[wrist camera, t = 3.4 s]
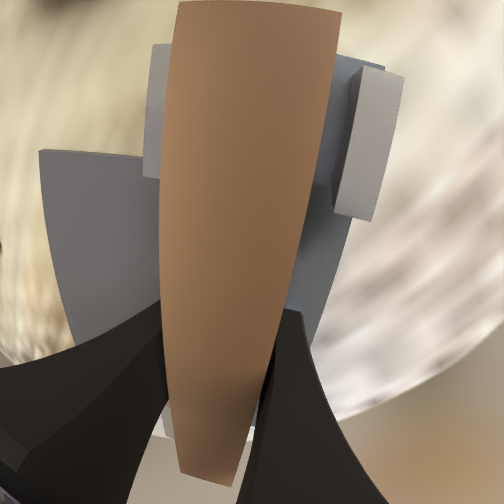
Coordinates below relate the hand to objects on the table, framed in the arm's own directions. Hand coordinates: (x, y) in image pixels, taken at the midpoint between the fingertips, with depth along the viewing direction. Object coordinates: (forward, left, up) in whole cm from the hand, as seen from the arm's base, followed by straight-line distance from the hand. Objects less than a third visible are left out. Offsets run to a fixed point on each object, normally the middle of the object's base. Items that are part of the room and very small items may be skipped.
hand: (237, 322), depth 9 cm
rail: (0, 0, 0) cm, 0 cm away
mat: (-8, -5, -4) cm, 11 cm away
